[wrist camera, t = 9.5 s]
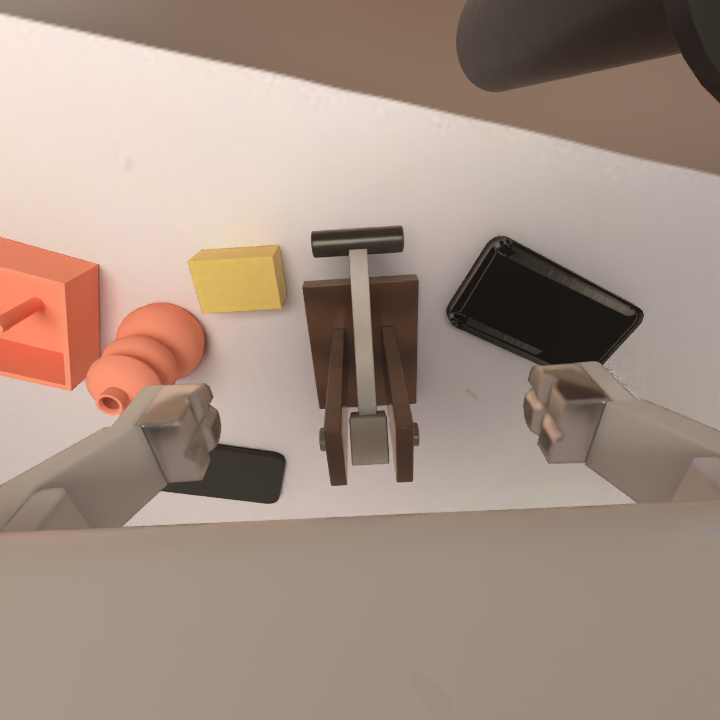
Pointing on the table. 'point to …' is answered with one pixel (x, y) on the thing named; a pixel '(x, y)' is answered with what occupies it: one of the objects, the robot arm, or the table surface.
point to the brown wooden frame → (391, 363)
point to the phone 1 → (237, 476)
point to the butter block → (239, 279)
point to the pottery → (85, 331)
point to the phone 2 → (540, 308)
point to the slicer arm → (362, 330)
